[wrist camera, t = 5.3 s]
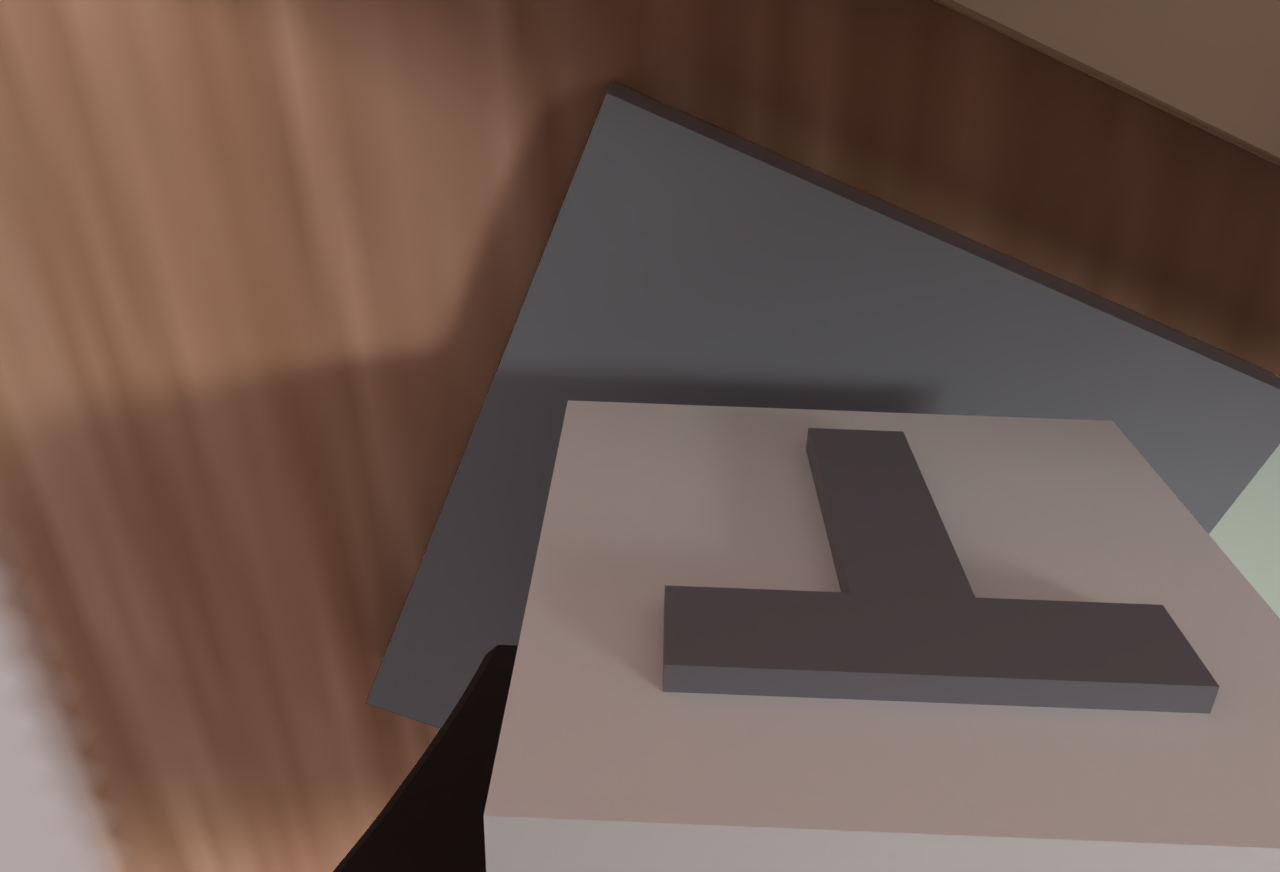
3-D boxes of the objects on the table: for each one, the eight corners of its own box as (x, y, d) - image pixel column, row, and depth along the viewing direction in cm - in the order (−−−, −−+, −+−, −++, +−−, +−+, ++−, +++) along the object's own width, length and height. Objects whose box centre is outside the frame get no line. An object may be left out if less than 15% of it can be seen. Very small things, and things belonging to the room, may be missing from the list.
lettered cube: (1116, 400, 10) (1496, 826, 5) (1012, 820, 12) (1212, 1362, 8) (567, 380, 10) (480, 786, 5) (568, 801, 12) (508, 1329, 8)
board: (1811, 611, 13) (1876, 652, 13) (1372, 999, 17) (1403, 1049, 16) (611, 79, 11) (606, 92, 10) (380, 662, 14) (366, 704, 13)
